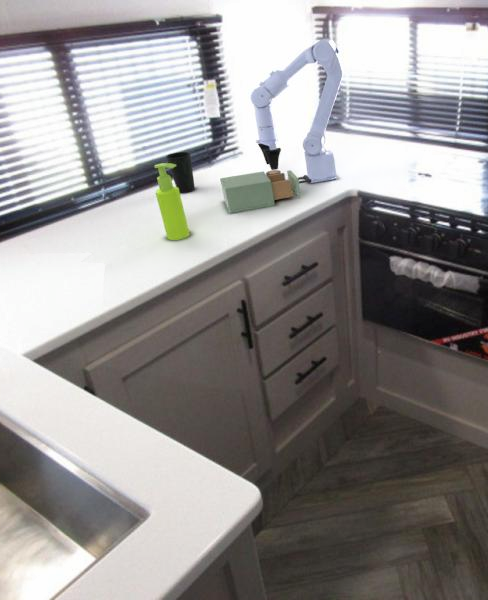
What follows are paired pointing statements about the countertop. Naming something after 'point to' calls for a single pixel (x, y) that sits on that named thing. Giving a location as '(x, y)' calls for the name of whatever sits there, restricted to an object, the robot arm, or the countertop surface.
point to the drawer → (286, 185)
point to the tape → (273, 172)
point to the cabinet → (247, 192)
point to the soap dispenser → (171, 205)
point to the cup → (182, 171)
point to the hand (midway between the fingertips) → (272, 166)
